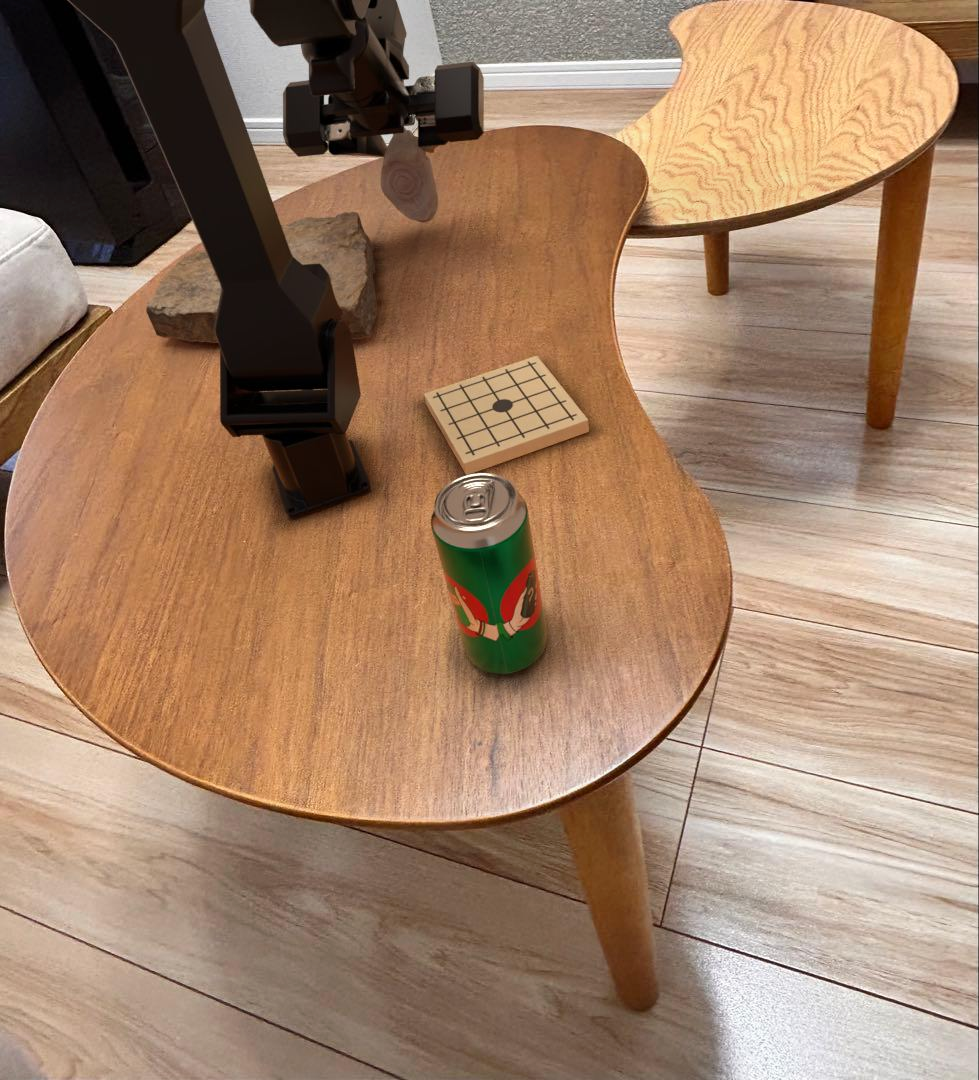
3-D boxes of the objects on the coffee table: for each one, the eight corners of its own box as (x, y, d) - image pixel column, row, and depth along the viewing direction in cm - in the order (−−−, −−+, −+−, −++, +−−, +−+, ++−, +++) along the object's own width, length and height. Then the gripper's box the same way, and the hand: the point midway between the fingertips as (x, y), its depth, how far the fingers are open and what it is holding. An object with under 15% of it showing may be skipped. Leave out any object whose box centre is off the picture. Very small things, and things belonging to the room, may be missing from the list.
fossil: (389, 231, 92) (364, 134, 85) (400, 216, 94) (377, 120, 87) (439, 230, 90) (418, 131, 83) (450, 215, 92) (430, 117, 85)
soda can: (544, 608, 54) (522, 461, 45) (551, 674, 50) (528, 528, 42) (464, 617, 54) (427, 474, 46) (465, 684, 51) (425, 541, 42)
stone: (154, 355, 83) (134, 314, 79) (222, 256, 96) (207, 217, 93) (368, 344, 79) (356, 300, 75) (408, 241, 92) (399, 200, 89)
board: (589, 432, 65) (588, 418, 64) (466, 475, 64) (463, 463, 63) (538, 367, 72) (537, 354, 71) (426, 405, 71) (423, 392, 70)
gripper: (462, -43, 71) (498, 60, 86) (252, -14, 75) (322, 80, 90) (462, 93, 71) (499, 172, 86) (252, 115, 75) (322, 187, 90)
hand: (409, 150), depth 88 cm, fingers closed on fossil, 4 cm apart
